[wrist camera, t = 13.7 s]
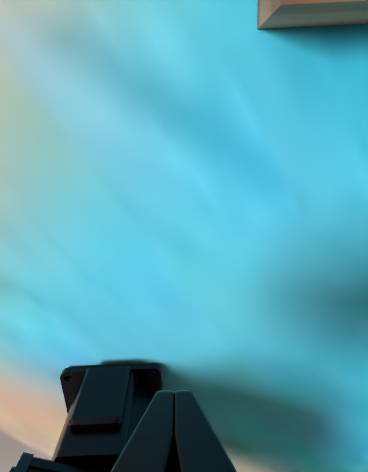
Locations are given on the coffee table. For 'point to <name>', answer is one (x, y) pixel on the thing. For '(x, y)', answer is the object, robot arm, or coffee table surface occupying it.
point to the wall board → (310, 13)
